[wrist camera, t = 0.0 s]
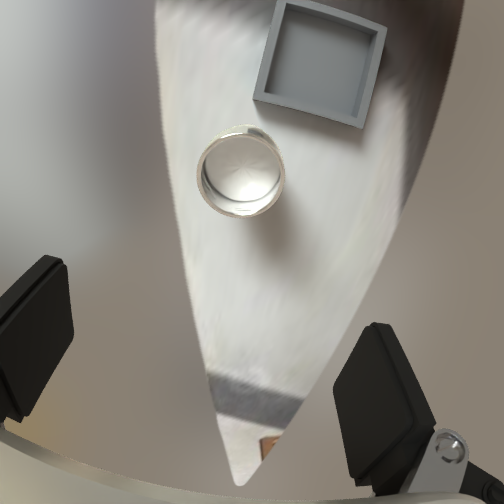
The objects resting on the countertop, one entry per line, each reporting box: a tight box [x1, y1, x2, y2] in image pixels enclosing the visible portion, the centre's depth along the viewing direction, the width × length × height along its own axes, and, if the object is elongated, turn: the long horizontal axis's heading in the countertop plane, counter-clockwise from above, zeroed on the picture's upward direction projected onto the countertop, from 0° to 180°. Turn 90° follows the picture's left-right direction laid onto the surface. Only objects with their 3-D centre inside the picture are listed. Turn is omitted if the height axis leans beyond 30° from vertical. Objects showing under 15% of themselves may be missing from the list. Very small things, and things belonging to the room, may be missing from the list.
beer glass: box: [196, 124, 285, 218], centre depth 30 cm, size 7×7×15 cm
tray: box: [253, 0, 387, 129], centre depth 31 cm, size 13×12×3 cm
